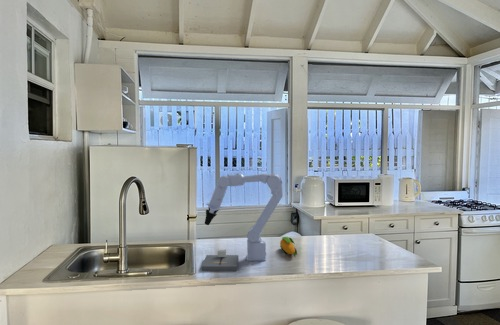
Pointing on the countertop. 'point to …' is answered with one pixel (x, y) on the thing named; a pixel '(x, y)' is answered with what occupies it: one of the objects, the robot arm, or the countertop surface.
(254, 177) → the robot arm
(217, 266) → the panel
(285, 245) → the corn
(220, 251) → the fader
